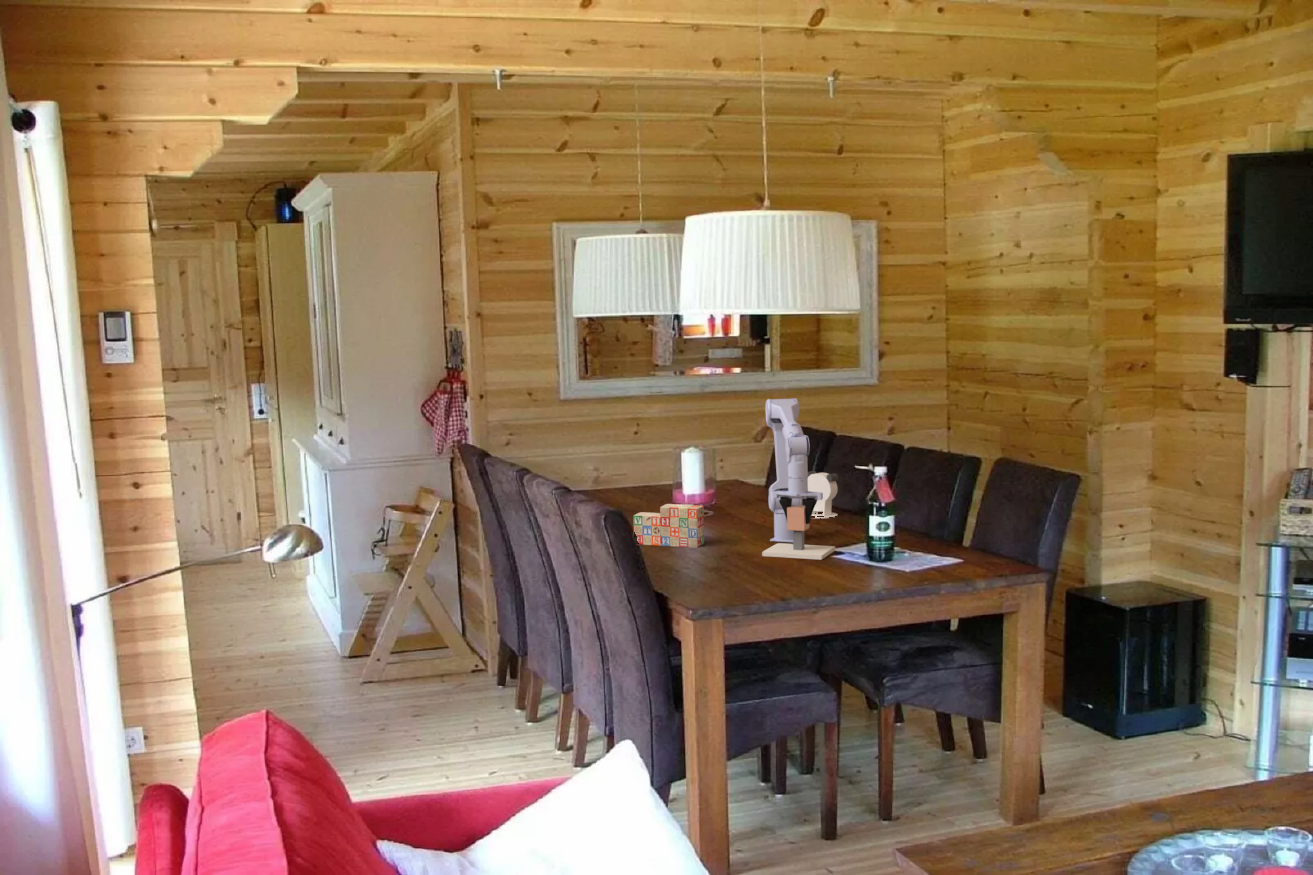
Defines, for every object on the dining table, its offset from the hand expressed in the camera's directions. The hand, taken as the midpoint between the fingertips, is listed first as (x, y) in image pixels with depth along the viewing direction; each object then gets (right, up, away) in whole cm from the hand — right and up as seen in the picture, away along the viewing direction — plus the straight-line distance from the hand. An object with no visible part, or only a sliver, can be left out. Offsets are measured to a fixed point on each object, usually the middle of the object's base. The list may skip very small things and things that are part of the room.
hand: (798, 522), depth 371 cm
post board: (0, -9, +1) cm, 9 cm away
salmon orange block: (0, -2, 0) cm, 2 cm away
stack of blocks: (-38, -8, +20) cm, 44 cm away
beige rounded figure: (+15, -2, +63) cm, 65 cm away
